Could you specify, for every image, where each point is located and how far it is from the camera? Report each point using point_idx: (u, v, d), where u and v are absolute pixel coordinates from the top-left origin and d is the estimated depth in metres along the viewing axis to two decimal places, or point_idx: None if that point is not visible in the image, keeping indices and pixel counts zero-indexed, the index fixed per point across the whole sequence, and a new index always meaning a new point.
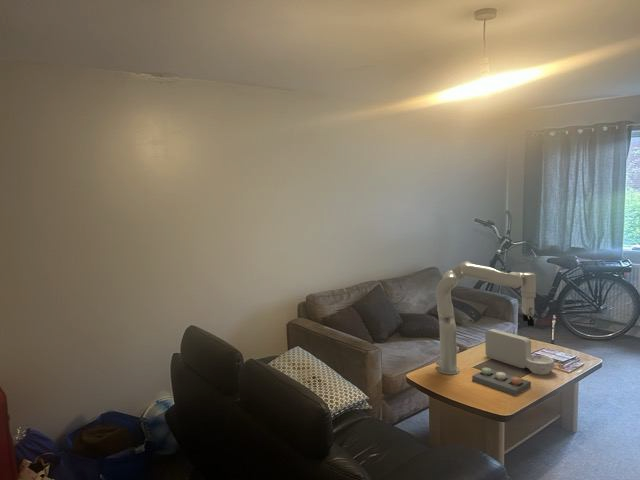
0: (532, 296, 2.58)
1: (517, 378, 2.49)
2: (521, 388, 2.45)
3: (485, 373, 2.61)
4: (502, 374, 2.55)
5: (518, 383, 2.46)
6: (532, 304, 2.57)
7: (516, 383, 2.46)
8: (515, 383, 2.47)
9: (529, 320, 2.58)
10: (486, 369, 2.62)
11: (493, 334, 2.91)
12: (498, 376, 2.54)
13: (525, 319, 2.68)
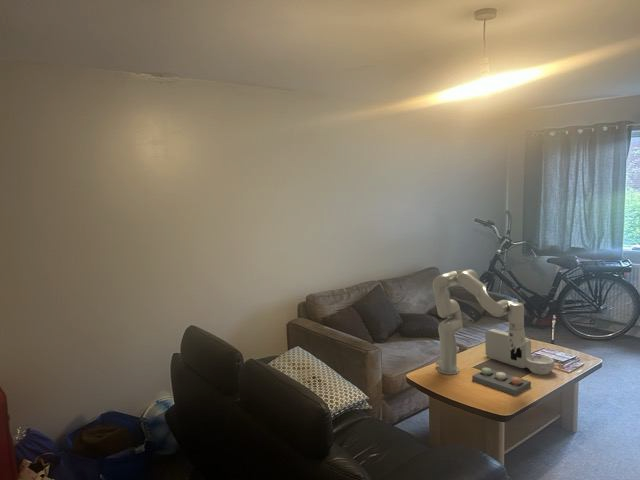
0: None
1: (517, 378, 2.49)
2: (521, 388, 2.45)
3: (485, 373, 2.61)
4: (502, 374, 2.55)
5: (518, 383, 2.46)
6: None
7: (516, 383, 2.46)
8: (515, 383, 2.47)
9: None
10: (486, 369, 2.62)
11: (493, 334, 2.91)
12: (498, 376, 2.54)
13: None
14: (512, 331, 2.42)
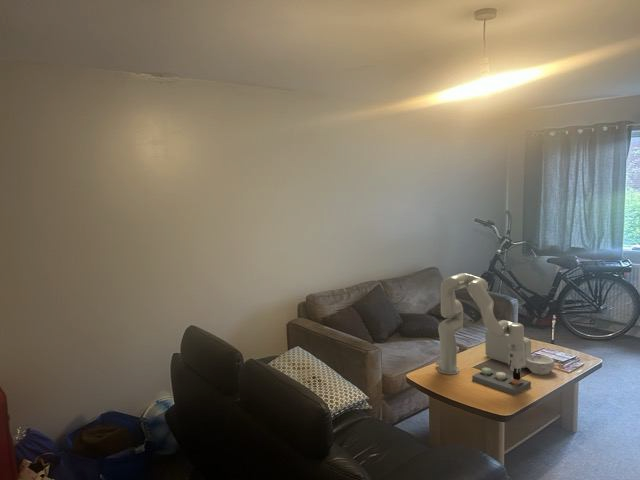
0: None
1: None
2: (521, 388, 2.45)
3: (485, 373, 2.61)
4: (502, 374, 2.55)
5: (518, 383, 2.46)
6: None
7: (516, 383, 2.46)
8: (515, 383, 2.47)
9: None
10: (486, 369, 2.62)
11: None
12: (498, 376, 2.54)
13: None
14: (512, 352, 2.44)
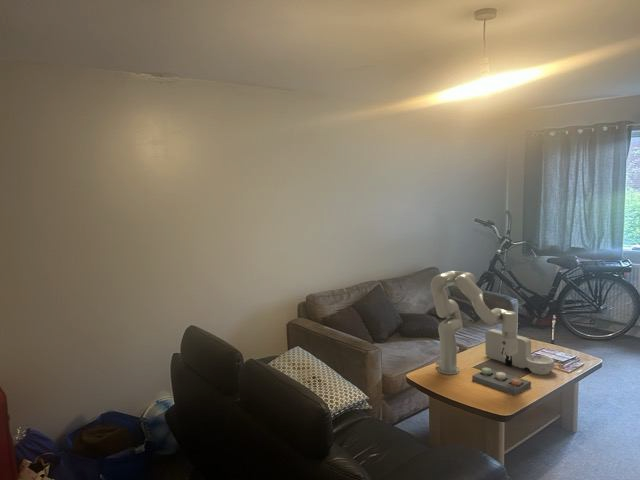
0: None
1: (517, 380, 2.49)
2: (521, 388, 2.45)
3: (485, 373, 2.61)
4: (502, 374, 2.55)
5: (518, 385, 2.46)
6: None
7: (516, 385, 2.46)
8: (515, 385, 2.47)
9: None
10: (486, 369, 2.62)
11: (493, 334, 2.91)
12: (498, 376, 2.54)
13: None
14: (505, 339, 2.46)
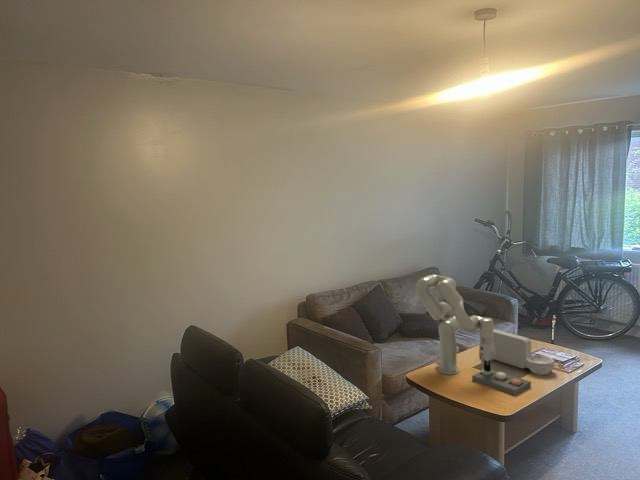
0: None
1: (517, 380, 2.49)
2: (521, 388, 2.45)
3: (485, 374, 2.61)
4: (502, 374, 2.55)
5: (518, 385, 2.46)
6: None
7: (516, 385, 2.46)
8: (515, 385, 2.47)
9: None
10: None
11: None
12: (498, 376, 2.54)
13: None
14: (482, 345, 2.58)
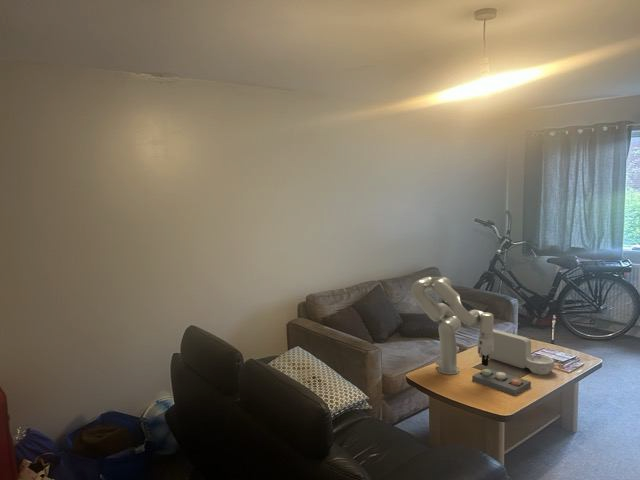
0: None
1: (517, 380, 2.49)
2: (521, 388, 2.45)
3: (485, 375, 2.61)
4: (502, 374, 2.55)
5: (518, 385, 2.46)
6: None
7: (516, 385, 2.46)
8: (515, 385, 2.47)
9: None
10: (486, 371, 2.63)
11: (493, 334, 2.91)
12: (498, 376, 2.54)
13: None
14: (481, 339, 2.58)
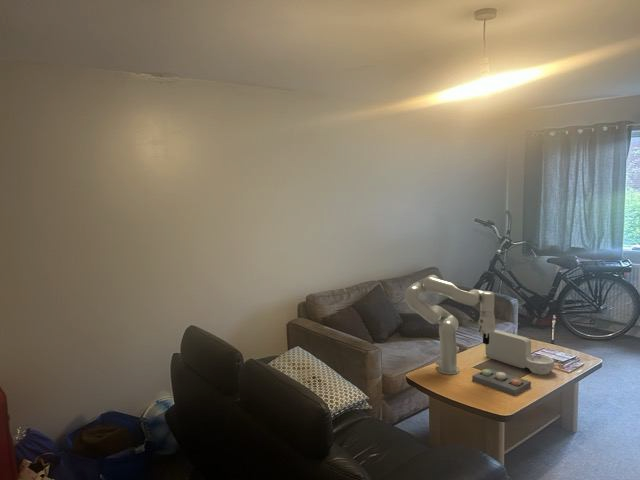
0: None
1: (517, 380, 2.49)
2: (521, 388, 2.45)
3: (485, 375, 2.61)
4: (502, 374, 2.55)
5: (518, 385, 2.46)
6: None
7: (516, 385, 2.46)
8: (515, 385, 2.47)
9: None
10: (486, 371, 2.63)
11: (493, 334, 2.91)
12: (498, 376, 2.54)
13: None
14: (482, 318, 2.61)
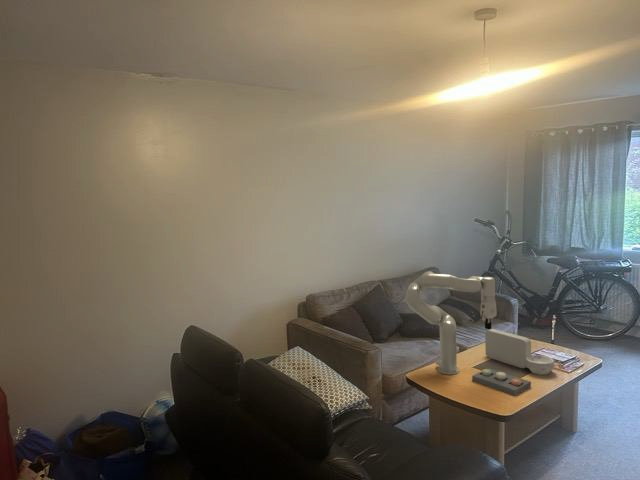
0: None
1: (517, 380, 2.49)
2: (521, 388, 2.45)
3: (485, 375, 2.61)
4: (502, 374, 2.55)
5: (518, 385, 2.46)
6: None
7: (516, 385, 2.46)
8: (515, 385, 2.47)
9: None
10: (486, 371, 2.63)
11: (493, 334, 2.91)
12: (498, 376, 2.54)
13: None
14: (484, 303, 2.64)
